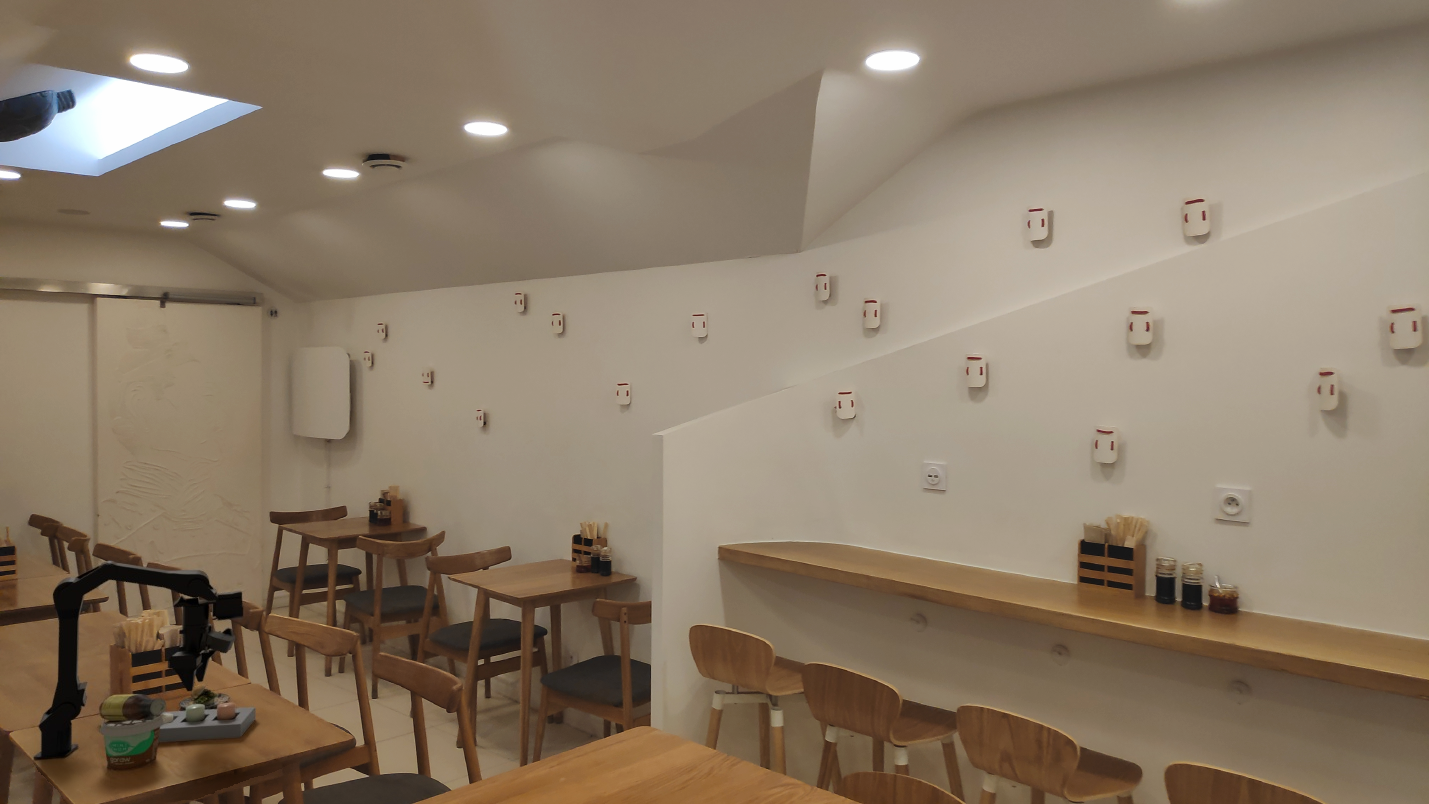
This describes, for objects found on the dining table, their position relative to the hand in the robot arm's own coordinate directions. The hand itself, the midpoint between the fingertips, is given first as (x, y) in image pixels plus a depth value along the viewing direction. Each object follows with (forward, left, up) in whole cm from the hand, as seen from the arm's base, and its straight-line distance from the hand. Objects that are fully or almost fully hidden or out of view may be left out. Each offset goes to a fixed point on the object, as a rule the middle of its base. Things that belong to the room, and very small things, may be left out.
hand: (195, 686), depth 218 cm
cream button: (0, +7, -10) cm, 12 cm away
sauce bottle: (+12, +24, -8) cm, 28 cm away
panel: (0, 0, -11) cm, 11 cm away
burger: (+19, +4, -12) cm, 23 cm away
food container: (-20, +7, -11) cm, 24 cm away
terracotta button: (0, -7, -8) cm, 11 cm away
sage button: (0, 0, -8) cm, 8 cm away
